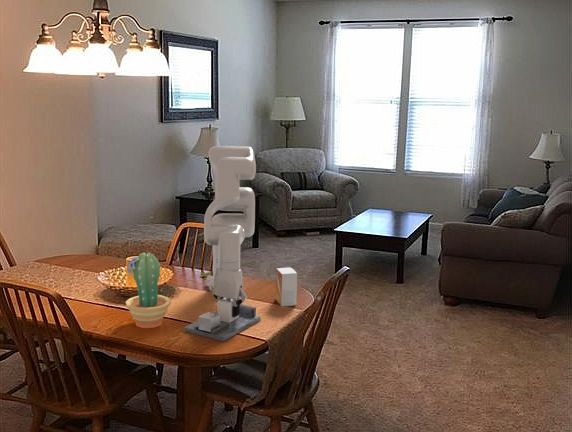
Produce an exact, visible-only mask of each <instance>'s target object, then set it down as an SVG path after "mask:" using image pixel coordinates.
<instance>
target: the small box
mask: <svg viewBox="0 0 572 432" xmlns="http://www.w3.org/2000/svg"><path fill="white" fill-rule="evenodd" d="M275 269H276V271H275V276H276V277H275V301H277V303H278V304H279V305H280V307H290V306H292V307H293V306H297V298H298V297H297V294H298V292H297V291H298V272H296V270H295V269H293V268H292V267H279V268H278V267H276V268H275Z"/></svg>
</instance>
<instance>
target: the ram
mask: <svg viewBox="0 0 572 432" xmlns="http://www.w3.org/2000/svg"><path fill="white" fill-rule="evenodd" d="M198 320H199V327H198V329H200V330H204V331H207V332H211V331H213V330H215V329H217V328H218V327H220V320H221V316H220V315H219V314H215V313H214V312H210V311H207V312H205V313H204V314H202V315H199V316H198Z"/></svg>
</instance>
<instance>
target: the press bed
mask: <svg viewBox="0 0 572 432" xmlns="http://www.w3.org/2000/svg"><path fill="white" fill-rule="evenodd" d="M213 313H215V314H218V310H217V311H215V312H213ZM260 321H261V316H259V315H257V307H256V306H251V305H247V304H243V303H241V305H240V306H239V318H237V319H236V320H234V321H232V322H230V323H228V322H224V321H220V327H218V328H217V329H215V330H213V331H211V332H207V331H204V330H200V329H198V327H199V319H198V320H196V321H194V322H192V323H190V324H188V325H186V326H184V332H186V333H189V334H193V335H195V336H196V335H197V336H201V337H205V338H208V339H212V340H215V341H220V342H225V341H227V340H229V339H231V338H232V337H234V336H236V335H238V334H240V333H241V332H244V331H245V330H246V329H248V328H250V327H252V326H253V325H255V324H257V323H258V322H260Z"/></svg>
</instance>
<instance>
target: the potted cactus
mask: <svg viewBox="0 0 572 432" xmlns="http://www.w3.org/2000/svg"><path fill="white" fill-rule="evenodd" d="M127 272H128V274H129V275H130V276H131V275H132V276H133V280H134V282H135V284H136V289H137V295H136V296H132V297H130V298H128V299H127V300H126V301H125V305H126V307H127V310H129V312H130V314H131V316H132V318H133V320H134V321H135V325H136V327H138V328H141V329H142V328H143V329H149V328H150V329H151V328H153V329H154V328H157V327H160V326H161V325H162V323H163V322H162V319H163V318H164V317H165V315H166V313H167V312H168V308H170V306H171V303H172V301H171V299H170V298H169V297H168V296H164V295H161V294H158V284H159V280H160V277H161V276H160V275H161V263H160V262H159V260H158V258H157V257H156V256H155V255H154V254H153V253H151V252H147V253H146V252H142V253H139V255H138V256H134V257H132V258H131V260H130V262H129V264H128V266H127Z"/></svg>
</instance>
